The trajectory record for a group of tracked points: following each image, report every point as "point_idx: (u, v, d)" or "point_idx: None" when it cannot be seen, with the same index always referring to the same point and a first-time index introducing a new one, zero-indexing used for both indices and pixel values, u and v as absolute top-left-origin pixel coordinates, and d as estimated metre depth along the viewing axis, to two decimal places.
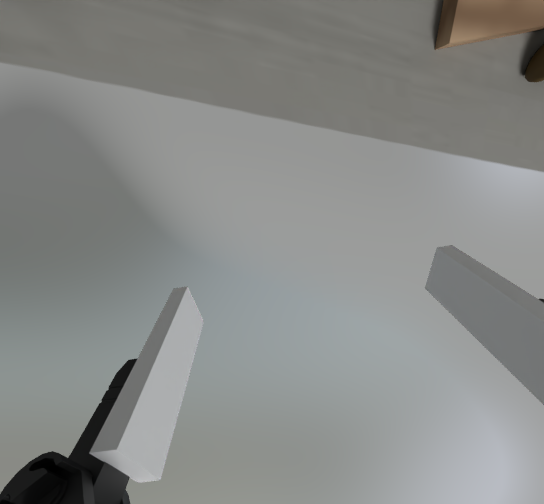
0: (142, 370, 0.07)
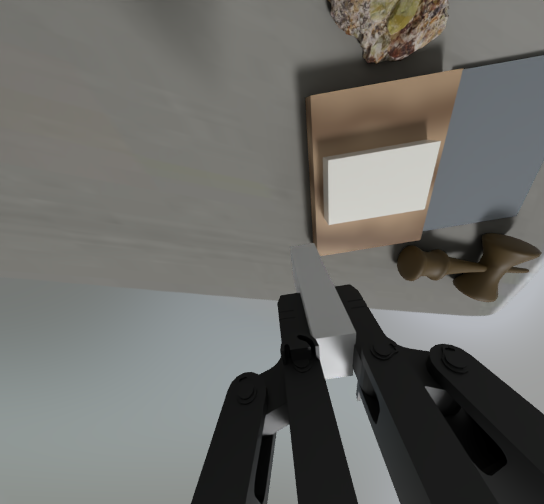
0: (312, 295, 0.09)
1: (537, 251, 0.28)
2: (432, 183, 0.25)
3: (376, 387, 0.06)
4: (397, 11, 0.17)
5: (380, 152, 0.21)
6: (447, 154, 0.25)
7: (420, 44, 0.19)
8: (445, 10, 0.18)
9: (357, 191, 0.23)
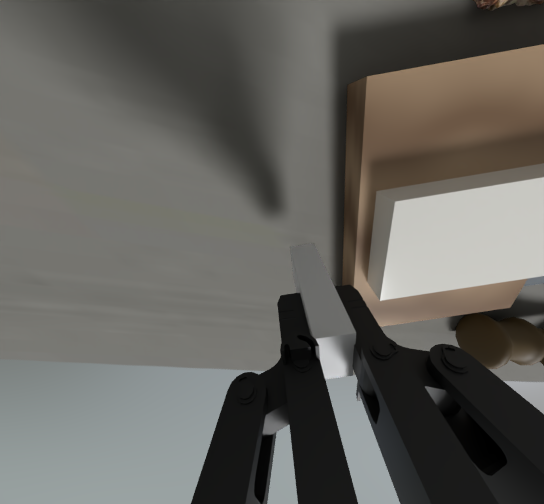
0: (312, 295, 0.09)
1: None
2: None
3: (377, 387, 0.06)
4: None
5: (495, 187, 0.11)
6: None
7: None
8: None
9: (437, 252, 0.13)
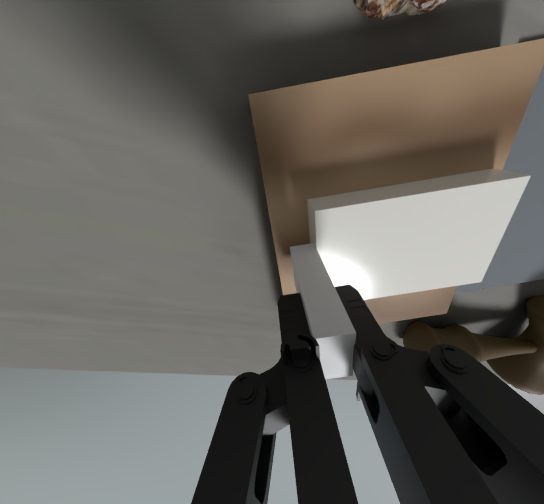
0: (312, 295, 0.09)
1: None
2: None
3: (376, 387, 0.06)
4: None
5: (413, 197, 0.11)
6: None
7: None
8: None
9: (367, 259, 0.13)
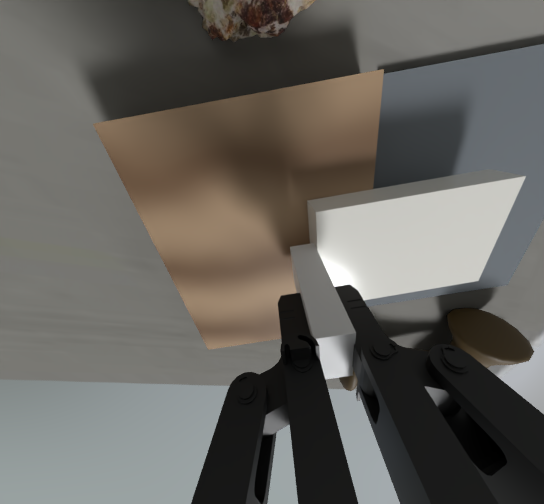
0: (312, 295, 0.09)
1: (526, 351, 0.18)
2: None
3: (377, 387, 0.06)
4: None
5: (412, 197, 0.11)
6: None
7: (300, 0, 0.09)
8: None
9: (367, 260, 0.13)
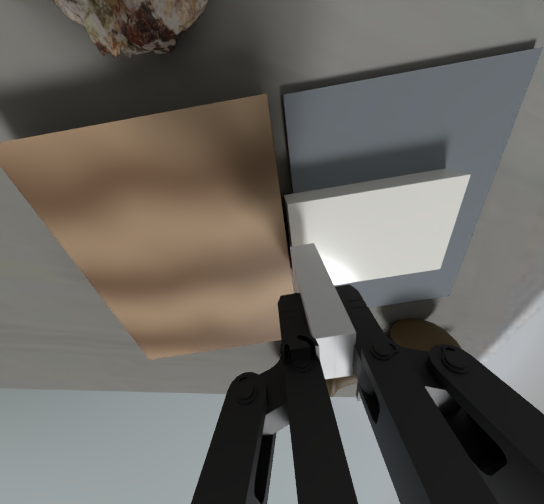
0: (312, 295, 0.09)
1: None
2: (287, 270, 0.15)
3: (377, 387, 0.06)
4: None
5: (371, 192, 0.13)
6: None
7: (176, 19, 0.09)
8: None
9: (336, 247, 0.15)
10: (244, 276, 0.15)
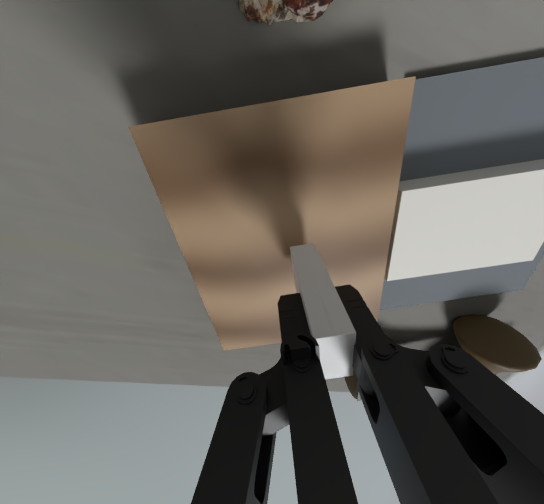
0: (312, 295, 0.09)
1: (533, 359, 0.18)
2: (383, 259, 0.15)
3: (377, 388, 0.06)
4: None
5: (487, 180, 0.13)
6: None
7: None
8: None
9: (438, 236, 0.15)
10: (340, 265, 0.15)
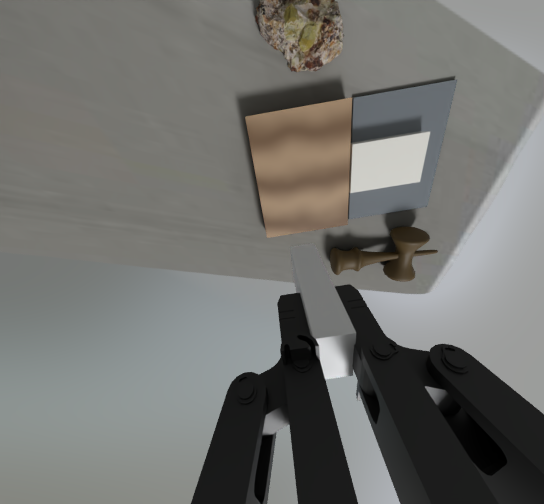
0: (312, 295, 0.09)
1: (424, 238, 0.36)
2: (347, 179, 0.33)
3: (377, 387, 0.06)
4: (303, 35, 0.24)
5: (388, 139, 0.30)
6: None
7: (326, 60, 0.26)
8: (339, 37, 0.25)
9: (371, 167, 0.32)
10: (327, 182, 0.33)
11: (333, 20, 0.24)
